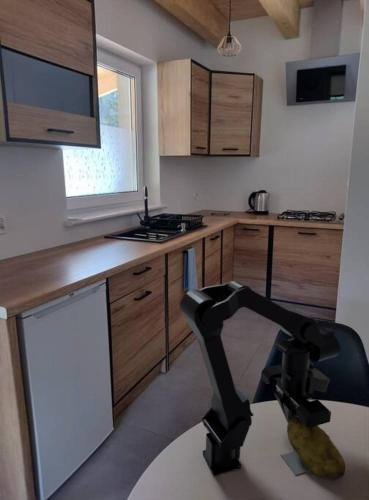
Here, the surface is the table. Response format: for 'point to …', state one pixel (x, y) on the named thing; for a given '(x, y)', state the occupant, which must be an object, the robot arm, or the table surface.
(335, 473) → the potato
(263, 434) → the table surface
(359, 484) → the table surface
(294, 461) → the mat
